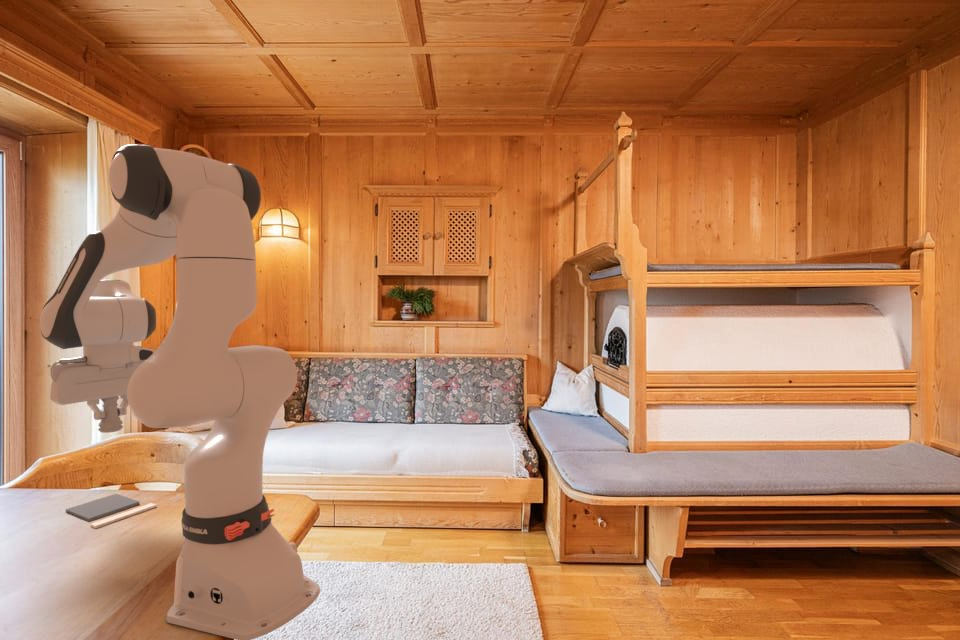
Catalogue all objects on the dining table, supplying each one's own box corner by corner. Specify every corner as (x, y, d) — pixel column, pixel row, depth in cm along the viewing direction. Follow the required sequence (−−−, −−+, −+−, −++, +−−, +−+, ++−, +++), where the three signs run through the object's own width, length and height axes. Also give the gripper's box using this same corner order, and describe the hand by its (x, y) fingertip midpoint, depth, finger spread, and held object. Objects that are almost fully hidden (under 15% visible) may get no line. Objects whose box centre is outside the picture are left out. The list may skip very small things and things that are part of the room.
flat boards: (156, 506, 114) (156, 504, 114) (95, 528, 103) (95, 525, 103) (120, 494, 121) (120, 492, 121) (60, 513, 110) (60, 511, 110)
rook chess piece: (109, 433, 108) (109, 397, 107) (92, 432, 109) (91, 395, 108) (128, 428, 112) (127, 392, 112) (111, 426, 113) (110, 391, 113)
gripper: (57, 361, 99) (59, 430, 100) (165, 351, 117) (166, 409, 118) (43, 358, 102) (45, 425, 103) (149, 348, 120) (150, 406, 121)
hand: (110, 417), depth 110 cm, fingers closed on rook chess piece, 3 cm apart
